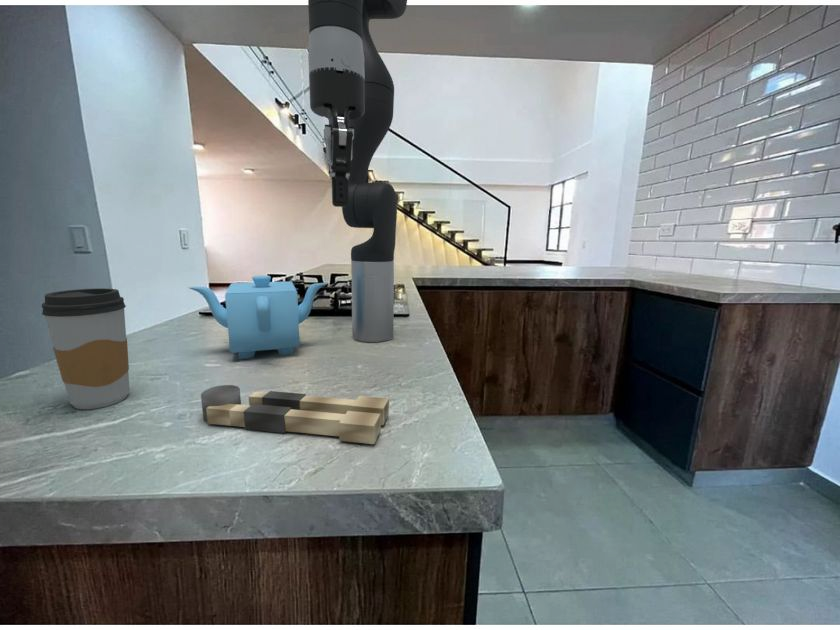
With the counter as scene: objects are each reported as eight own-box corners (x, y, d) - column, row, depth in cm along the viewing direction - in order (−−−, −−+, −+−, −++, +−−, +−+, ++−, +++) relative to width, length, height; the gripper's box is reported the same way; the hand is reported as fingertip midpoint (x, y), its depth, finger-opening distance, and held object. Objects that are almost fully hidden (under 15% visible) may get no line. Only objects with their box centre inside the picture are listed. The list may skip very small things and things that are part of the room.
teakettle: (267, 370, 65) (261, 284, 62) (190, 354, 72) (182, 277, 69) (333, 342, 82) (331, 274, 79) (266, 332, 89) (261, 268, 86)
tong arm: (247, 413, 50) (246, 396, 49) (260, 403, 52) (259, 387, 52) (383, 426, 47) (383, 408, 46) (388, 415, 50) (388, 398, 49)
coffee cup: (128, 383, 59) (113, 286, 55) (147, 398, 53) (131, 292, 50) (54, 400, 52) (33, 292, 49) (67, 420, 47) (44, 300, 44)
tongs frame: (186, 427, 46) (183, 402, 45) (218, 406, 52) (216, 383, 51) (373, 446, 43) (373, 420, 42) (386, 421, 49) (386, 397, 48)
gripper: (308, 89, 58) (312, 207, 62) (309, 51, 46) (315, 202, 49) (358, 95, 60) (359, 209, 64) (372, 60, 48) (373, 204, 51)
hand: (340, 206), depth 57 cm, fingers closed
